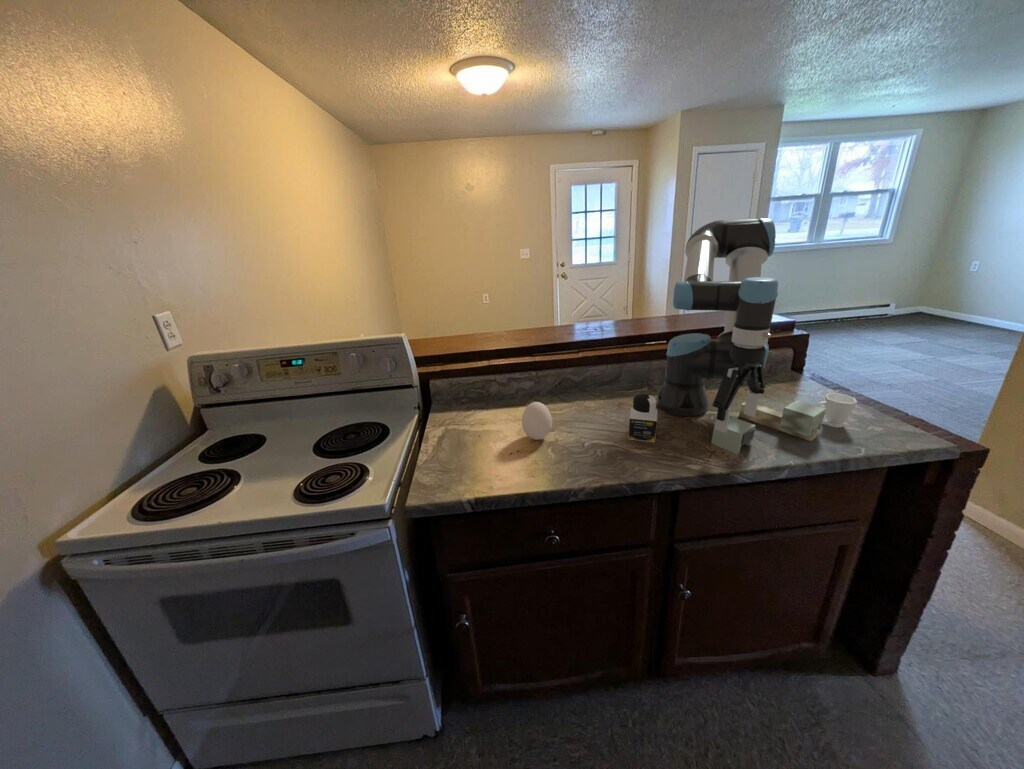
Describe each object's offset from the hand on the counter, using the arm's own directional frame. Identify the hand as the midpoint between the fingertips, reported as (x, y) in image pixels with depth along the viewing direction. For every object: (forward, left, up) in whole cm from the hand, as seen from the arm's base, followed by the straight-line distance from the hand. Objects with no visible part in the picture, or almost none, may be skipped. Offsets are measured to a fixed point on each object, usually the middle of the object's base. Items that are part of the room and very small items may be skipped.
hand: (735, 422), depth 103 cm
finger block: (0, 0, -7) cm, 7 cm away
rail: (+2, +18, -7) cm, 20 cm away
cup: (+11, +30, -7) cm, 33 cm away
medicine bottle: (-18, -14, -7) cm, 24 cm away
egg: (-36, -38, -7) cm, 53 cm away
